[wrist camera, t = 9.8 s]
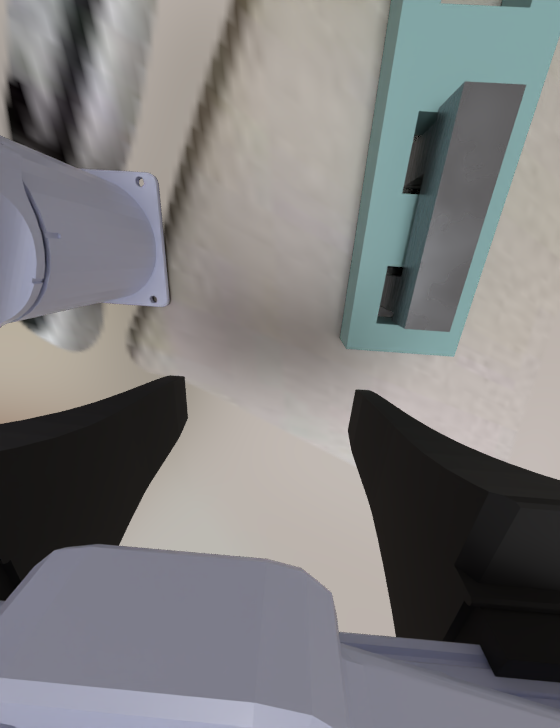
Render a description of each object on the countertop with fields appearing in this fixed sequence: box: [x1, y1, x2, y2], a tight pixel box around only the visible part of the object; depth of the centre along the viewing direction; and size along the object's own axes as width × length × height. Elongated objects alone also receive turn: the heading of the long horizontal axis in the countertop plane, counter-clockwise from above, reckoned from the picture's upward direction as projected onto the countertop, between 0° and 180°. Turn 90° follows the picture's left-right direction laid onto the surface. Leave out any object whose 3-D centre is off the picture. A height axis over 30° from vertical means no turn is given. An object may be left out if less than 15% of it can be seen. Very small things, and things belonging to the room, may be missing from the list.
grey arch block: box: [380, 81, 526, 332], centre depth 15 cm, size 2×10×5 cm, turn 177°
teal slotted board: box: [340, 0, 560, 357], centre depth 14 cm, size 21×7×2 cm, turn 177°
